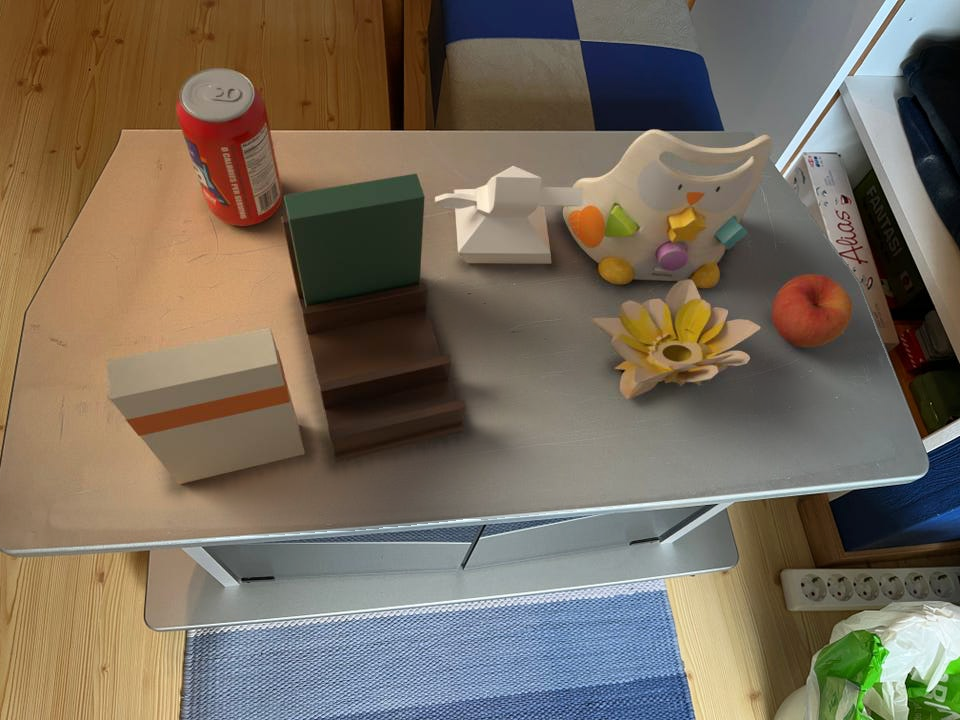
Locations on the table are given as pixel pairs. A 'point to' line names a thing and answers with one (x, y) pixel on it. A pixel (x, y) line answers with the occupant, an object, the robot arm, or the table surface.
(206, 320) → the table surface
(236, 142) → the soda can
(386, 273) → the green book
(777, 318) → the apple
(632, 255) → the shape sorter
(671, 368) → the decorative flower
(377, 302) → the book rack
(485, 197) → the white angular piece
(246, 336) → the book
